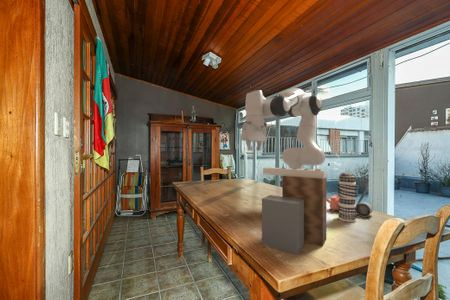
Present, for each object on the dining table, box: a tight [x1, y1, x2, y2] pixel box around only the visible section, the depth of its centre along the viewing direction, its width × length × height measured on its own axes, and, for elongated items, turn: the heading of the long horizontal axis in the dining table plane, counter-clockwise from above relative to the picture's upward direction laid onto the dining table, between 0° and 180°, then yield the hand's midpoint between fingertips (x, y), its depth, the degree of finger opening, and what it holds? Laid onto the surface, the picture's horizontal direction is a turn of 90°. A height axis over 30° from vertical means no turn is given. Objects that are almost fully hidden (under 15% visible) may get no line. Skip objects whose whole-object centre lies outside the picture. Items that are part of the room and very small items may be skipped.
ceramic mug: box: [355, 201, 374, 218], centre depth 119 cm, size 11×8×8 cm
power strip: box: [262, 166, 327, 179], centre depth 90 cm, size 26×4×4 cm, turn 54°
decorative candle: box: [337, 172, 358, 223], centre depth 111 cm, size 9×9×25 cm
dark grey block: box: [261, 194, 305, 255], centre depth 81 cm, size 14×8×18 cm, turn 54°
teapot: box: [326, 194, 340, 212], centre depth 128 cm, size 12×12×10 cm
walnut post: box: [281, 176, 327, 247], centre depth 87 cm, size 16×8×26 cm, turn 54°
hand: (254, 150), depth 102 cm, fingers open, 8 cm apart
